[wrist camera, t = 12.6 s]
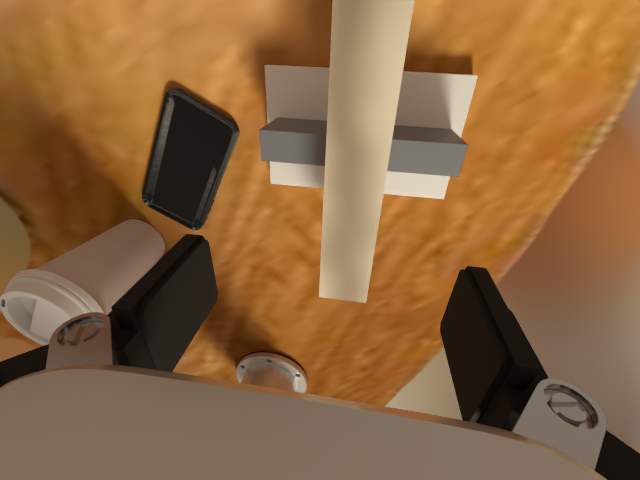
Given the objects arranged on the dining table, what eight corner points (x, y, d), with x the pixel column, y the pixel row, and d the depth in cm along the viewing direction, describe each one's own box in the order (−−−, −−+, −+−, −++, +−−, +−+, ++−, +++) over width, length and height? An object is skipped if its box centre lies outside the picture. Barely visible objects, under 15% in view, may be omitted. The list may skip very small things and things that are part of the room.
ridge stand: (440, 193, 32) (456, 225, 26) (274, 178, 34) (254, 205, 28) (472, 74, 26) (502, 81, 20) (269, 64, 28) (241, 67, 22)
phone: (140, 202, 37) (167, 84, 29) (146, 198, 38) (174, 83, 30) (199, 233, 38) (241, 128, 30) (203, 229, 39) (244, 126, 31)
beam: (410, -30, 18) (423, -55, 14) (366, 267, 30) (366, 302, 25) (343, -31, 18) (335, -56, 14) (326, 262, 30) (319, 296, 26)
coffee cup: (138, 196, 37) (20, 269, 25) (190, 253, 41) (110, 342, 29) (94, 226, 41) (-28, 303, 28) (146, 276, 45) (58, 364, 32)
